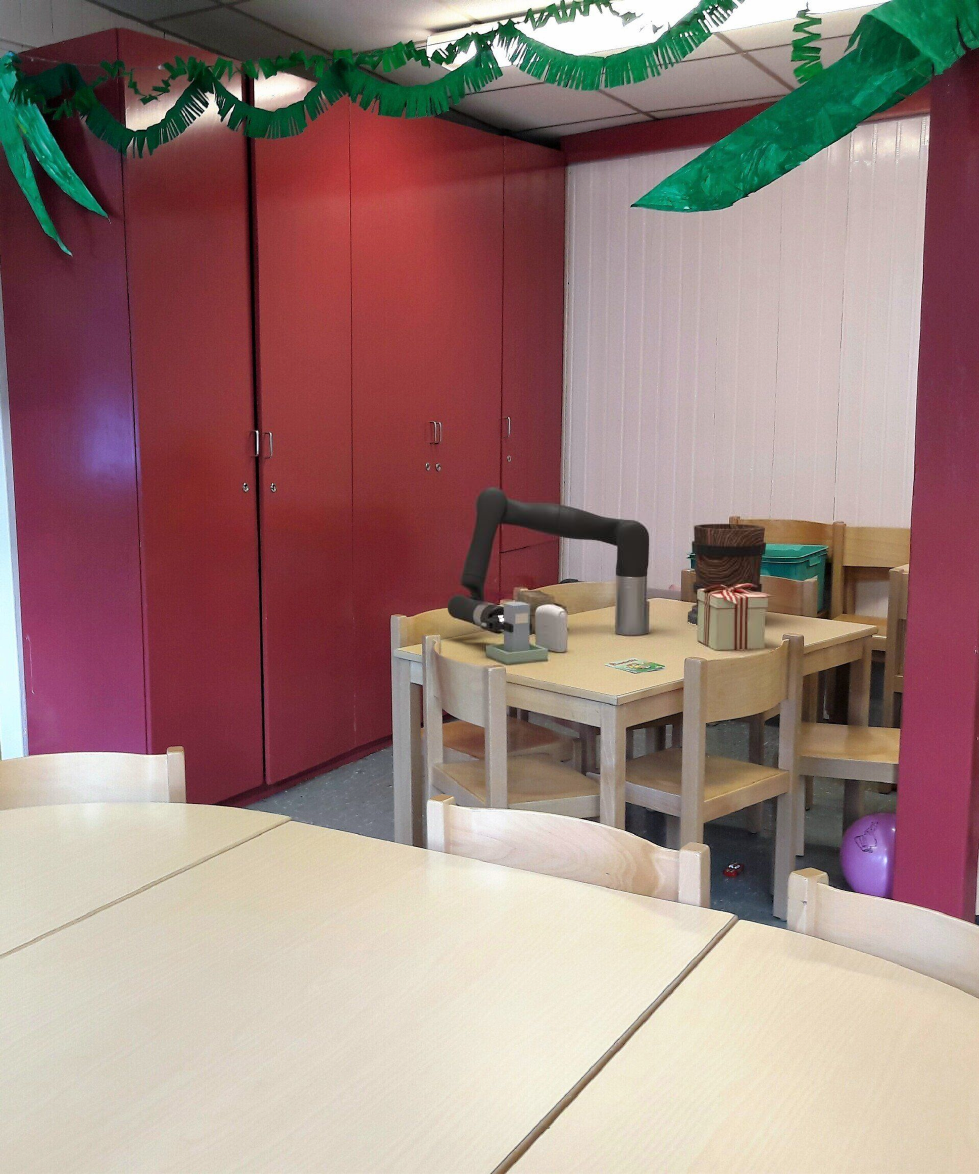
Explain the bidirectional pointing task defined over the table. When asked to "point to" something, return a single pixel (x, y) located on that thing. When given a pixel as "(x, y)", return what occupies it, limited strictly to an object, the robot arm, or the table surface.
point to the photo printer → (551, 628)
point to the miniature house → (536, 603)
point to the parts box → (517, 627)
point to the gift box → (732, 617)
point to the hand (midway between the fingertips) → (521, 627)
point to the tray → (516, 654)
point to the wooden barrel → (726, 557)
